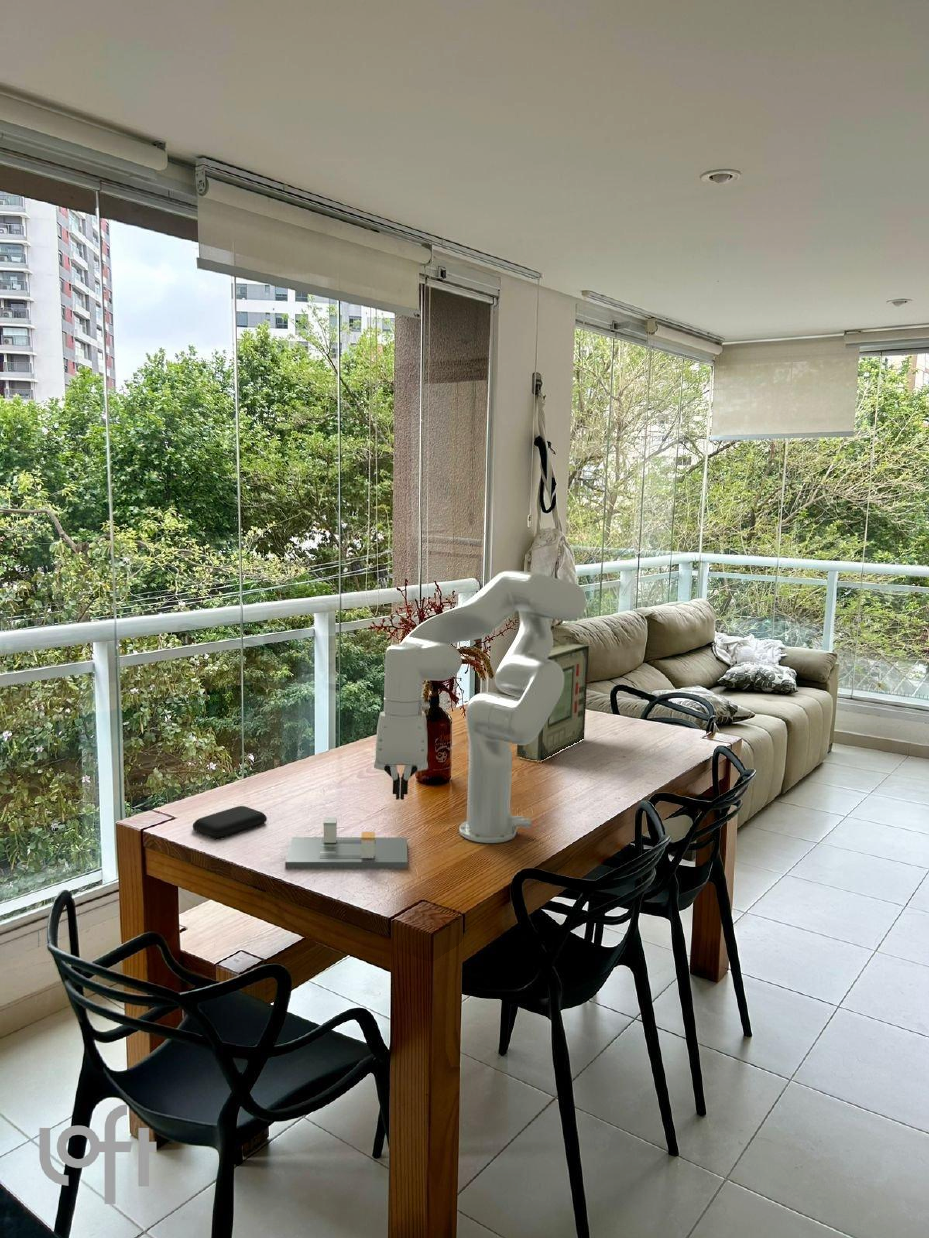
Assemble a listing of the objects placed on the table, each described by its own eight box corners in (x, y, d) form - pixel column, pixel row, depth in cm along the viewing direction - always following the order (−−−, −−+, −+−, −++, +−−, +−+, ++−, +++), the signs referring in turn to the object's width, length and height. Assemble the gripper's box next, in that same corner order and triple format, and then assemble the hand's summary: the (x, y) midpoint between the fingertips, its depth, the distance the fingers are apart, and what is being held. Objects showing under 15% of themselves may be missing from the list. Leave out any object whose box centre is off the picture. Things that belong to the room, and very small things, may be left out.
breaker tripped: (374, 851, 183) (374, 831, 182) (374, 858, 180) (374, 837, 179) (361, 851, 183) (361, 831, 182) (360, 858, 180) (361, 837, 179)
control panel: (540, 763, 255) (544, 658, 251) (516, 758, 259) (521, 655, 255) (583, 740, 280) (588, 645, 276) (562, 736, 284) (566, 642, 280)
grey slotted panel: (406, 844, 193) (406, 837, 192) (407, 869, 180) (407, 861, 179) (292, 843, 191) (292, 836, 190) (285, 869, 178) (285, 861, 178)
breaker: (336, 837, 190) (337, 817, 190) (335, 842, 187) (336, 822, 187) (324, 836, 190) (324, 817, 189) (323, 842, 187) (323, 822, 186)
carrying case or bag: (239, 813, 208) (185, 831, 197) (239, 801, 208) (185, 817, 196) (270, 825, 202) (216, 843, 190) (270, 812, 202) (216, 829, 190)
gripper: (440, 704, 182) (436, 792, 184) (365, 702, 181) (362, 791, 183) (441, 712, 174) (438, 804, 177) (363, 710, 173) (361, 803, 176)
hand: (399, 797), depth 180 cm, fingers closed
